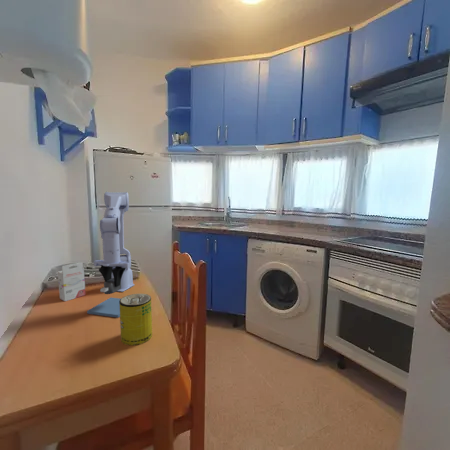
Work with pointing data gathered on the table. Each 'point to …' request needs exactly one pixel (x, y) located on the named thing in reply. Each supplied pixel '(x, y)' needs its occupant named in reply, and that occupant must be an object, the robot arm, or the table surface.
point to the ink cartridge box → (71, 282)
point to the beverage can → (135, 319)
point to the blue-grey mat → (107, 308)
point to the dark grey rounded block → (110, 287)
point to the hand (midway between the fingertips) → (113, 285)
